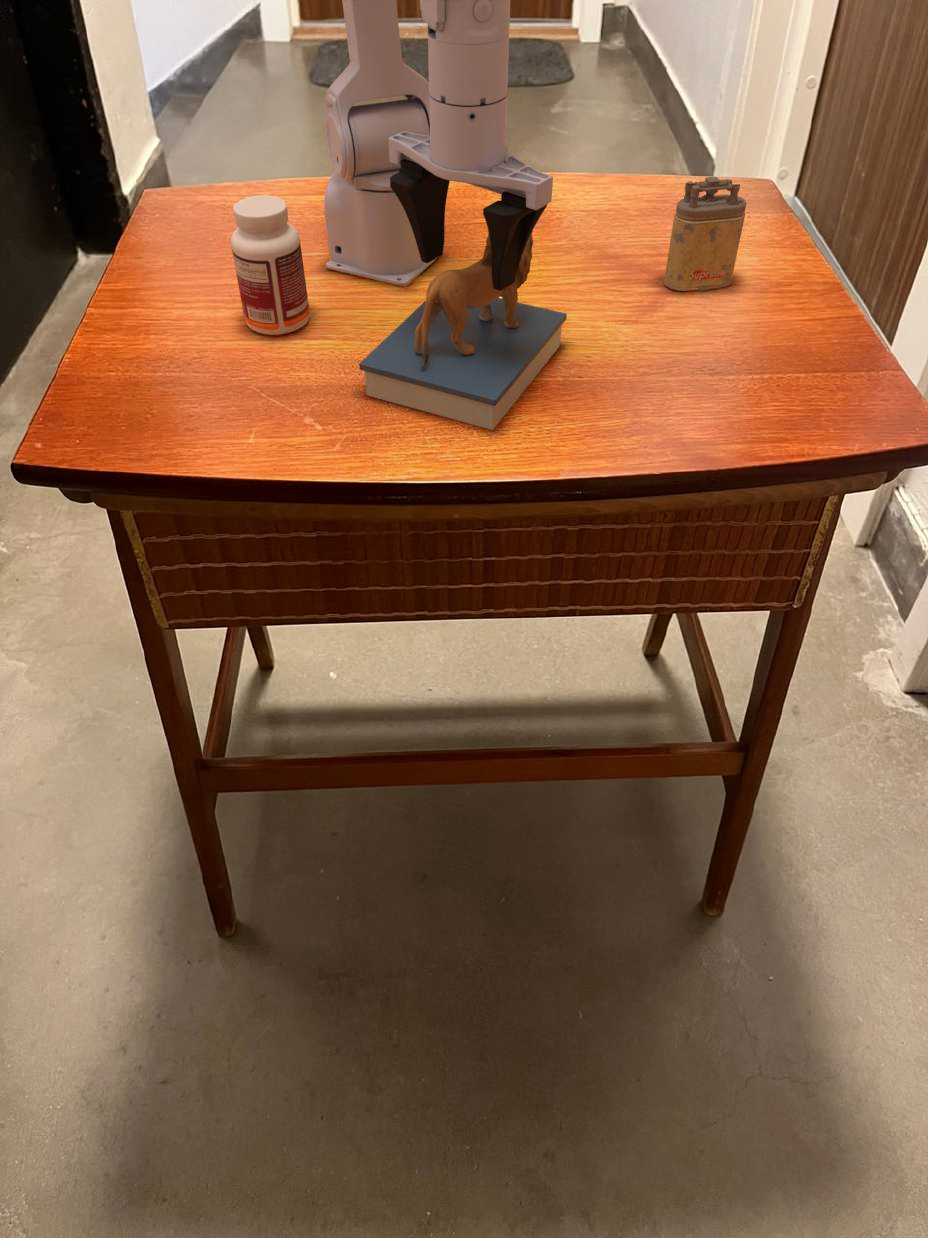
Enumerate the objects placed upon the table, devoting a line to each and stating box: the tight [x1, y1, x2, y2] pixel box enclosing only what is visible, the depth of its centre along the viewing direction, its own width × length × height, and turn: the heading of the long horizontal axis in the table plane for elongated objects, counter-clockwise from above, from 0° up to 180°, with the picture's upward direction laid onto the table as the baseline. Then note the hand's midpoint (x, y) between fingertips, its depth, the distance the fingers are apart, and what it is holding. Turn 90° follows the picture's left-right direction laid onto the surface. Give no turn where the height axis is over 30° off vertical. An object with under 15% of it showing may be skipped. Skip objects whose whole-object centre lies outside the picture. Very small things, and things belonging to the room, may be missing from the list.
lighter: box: [662, 176, 747, 292], centre depth 96 cm, size 7×4×10 cm, turn 102°
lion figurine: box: [414, 230, 534, 365], centre depth 82 cm, size 15×5×9 cm, turn 145°
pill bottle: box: [230, 194, 311, 336], centre depth 90 cm, size 6×6×11 cm
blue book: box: [358, 297, 568, 431], centre depth 86 cm, size 13×16×3 cm
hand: (467, 271), depth 81 cm, fingers open, 7 cm apart
